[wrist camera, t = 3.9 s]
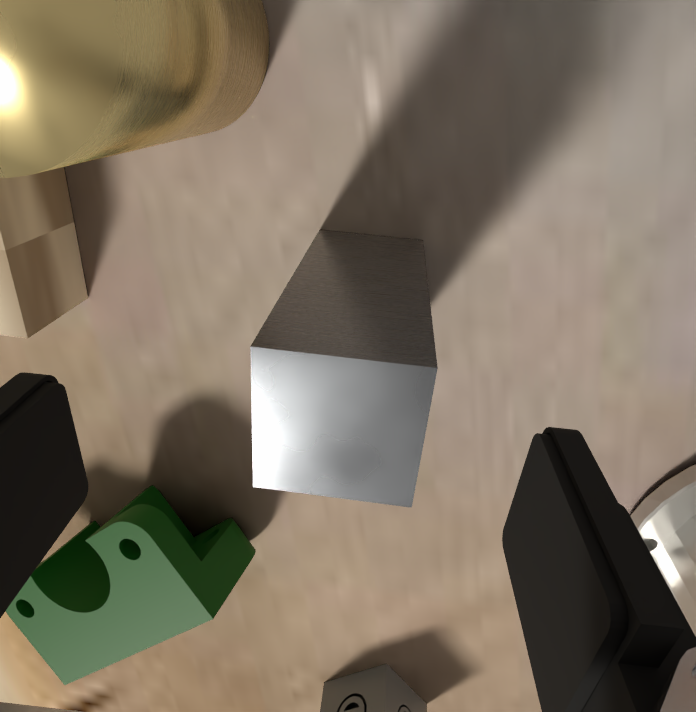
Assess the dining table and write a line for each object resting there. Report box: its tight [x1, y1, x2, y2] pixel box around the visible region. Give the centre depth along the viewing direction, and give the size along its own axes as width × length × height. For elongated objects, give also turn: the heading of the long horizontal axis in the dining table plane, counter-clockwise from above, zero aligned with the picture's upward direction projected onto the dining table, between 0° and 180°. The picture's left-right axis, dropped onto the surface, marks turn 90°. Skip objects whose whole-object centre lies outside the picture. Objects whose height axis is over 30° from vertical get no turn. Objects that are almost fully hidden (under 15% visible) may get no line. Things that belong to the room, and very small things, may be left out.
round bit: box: [0, 0, 269, 178], centre depth 13 cm, size 6×6×10 cm
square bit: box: [251, 230, 437, 507], centre depth 16 cm, size 4×4×10 cm
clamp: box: [6, 485, 255, 685], centre depth 26 cm, size 12×6×9 cm, turn 121°
